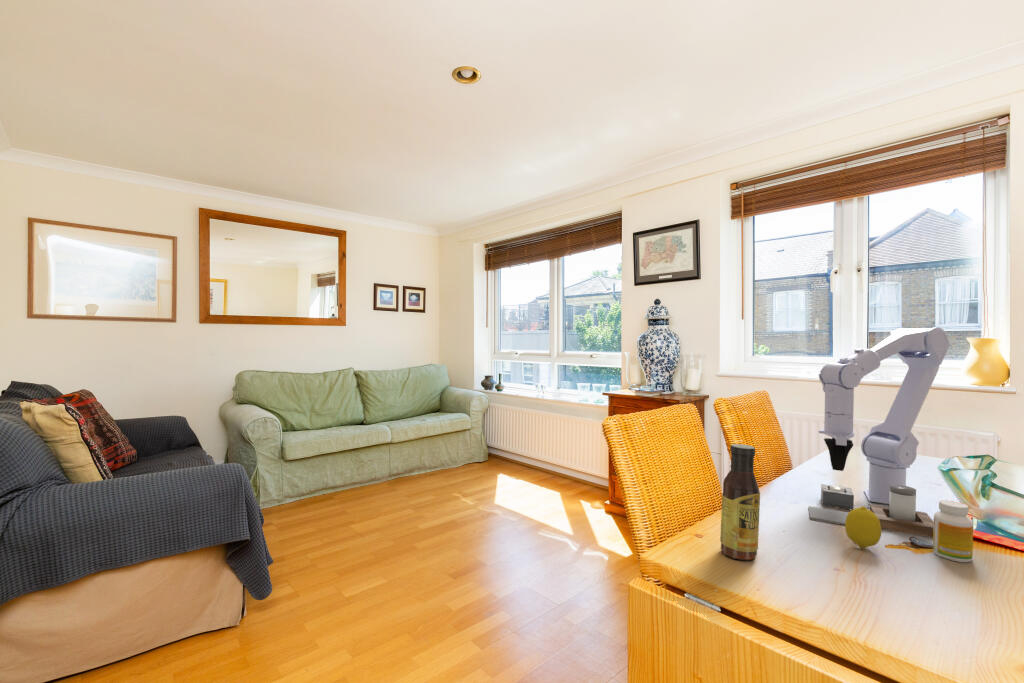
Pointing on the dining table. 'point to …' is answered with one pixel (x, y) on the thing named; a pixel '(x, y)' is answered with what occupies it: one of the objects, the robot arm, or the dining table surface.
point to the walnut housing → (904, 522)
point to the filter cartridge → (902, 502)
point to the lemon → (863, 527)
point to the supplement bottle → (953, 532)
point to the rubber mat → (827, 515)
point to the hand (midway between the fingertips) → (837, 469)
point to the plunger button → (837, 489)
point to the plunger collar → (837, 497)
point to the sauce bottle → (740, 506)
